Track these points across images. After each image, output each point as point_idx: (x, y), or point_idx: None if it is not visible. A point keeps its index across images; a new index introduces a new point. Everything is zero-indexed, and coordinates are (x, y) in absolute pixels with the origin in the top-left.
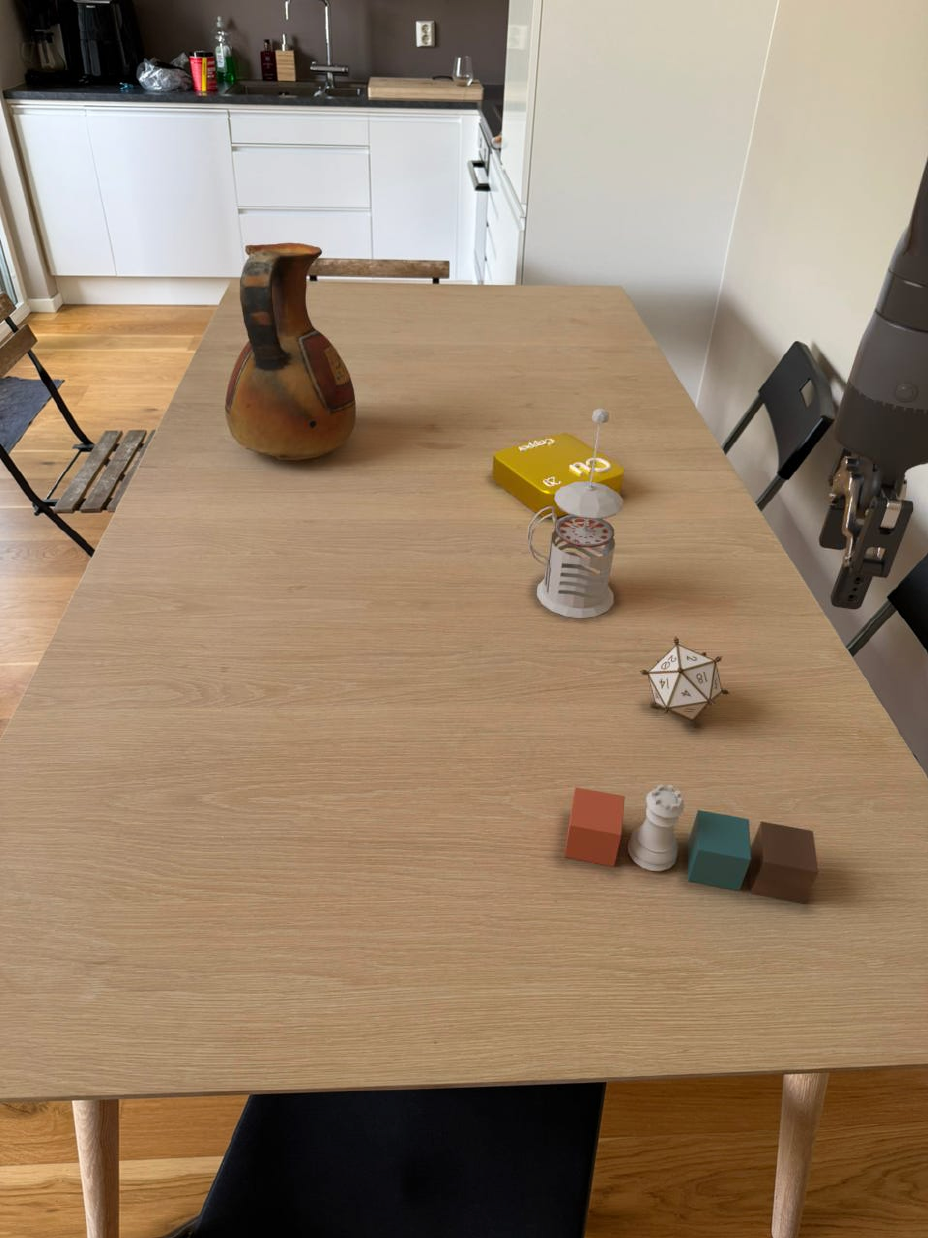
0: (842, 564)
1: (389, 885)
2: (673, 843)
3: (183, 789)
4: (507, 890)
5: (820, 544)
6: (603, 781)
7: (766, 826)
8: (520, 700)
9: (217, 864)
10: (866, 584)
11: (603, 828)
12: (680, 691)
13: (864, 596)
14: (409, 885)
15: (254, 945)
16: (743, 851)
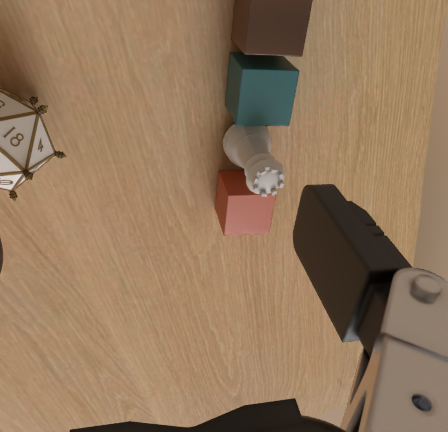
0: (340, 332)
1: (291, 300)
2: (259, 136)
3: (229, 404)
4: (291, 238)
5: (2, 260)
6: (160, 187)
7: (252, 48)
8: (68, 270)
9: (281, 372)
10: (401, 256)
11: (270, 208)
12: (40, 153)
13: (350, 206)
14: (290, 290)
15: (332, 340)
16: (289, 78)
